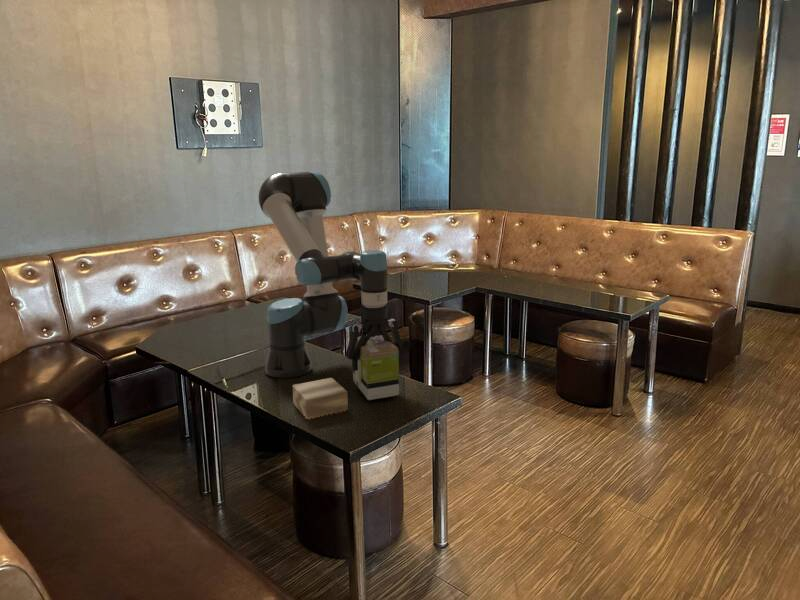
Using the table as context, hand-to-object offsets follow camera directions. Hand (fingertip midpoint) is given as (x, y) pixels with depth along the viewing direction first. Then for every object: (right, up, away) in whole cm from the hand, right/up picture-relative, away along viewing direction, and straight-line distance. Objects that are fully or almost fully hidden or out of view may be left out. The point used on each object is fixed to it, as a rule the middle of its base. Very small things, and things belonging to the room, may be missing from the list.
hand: (375, 376), depth 179 cm
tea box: (0, -4, +1) cm, 4 cm away
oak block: (-15, -8, -8) cm, 19 cm away
